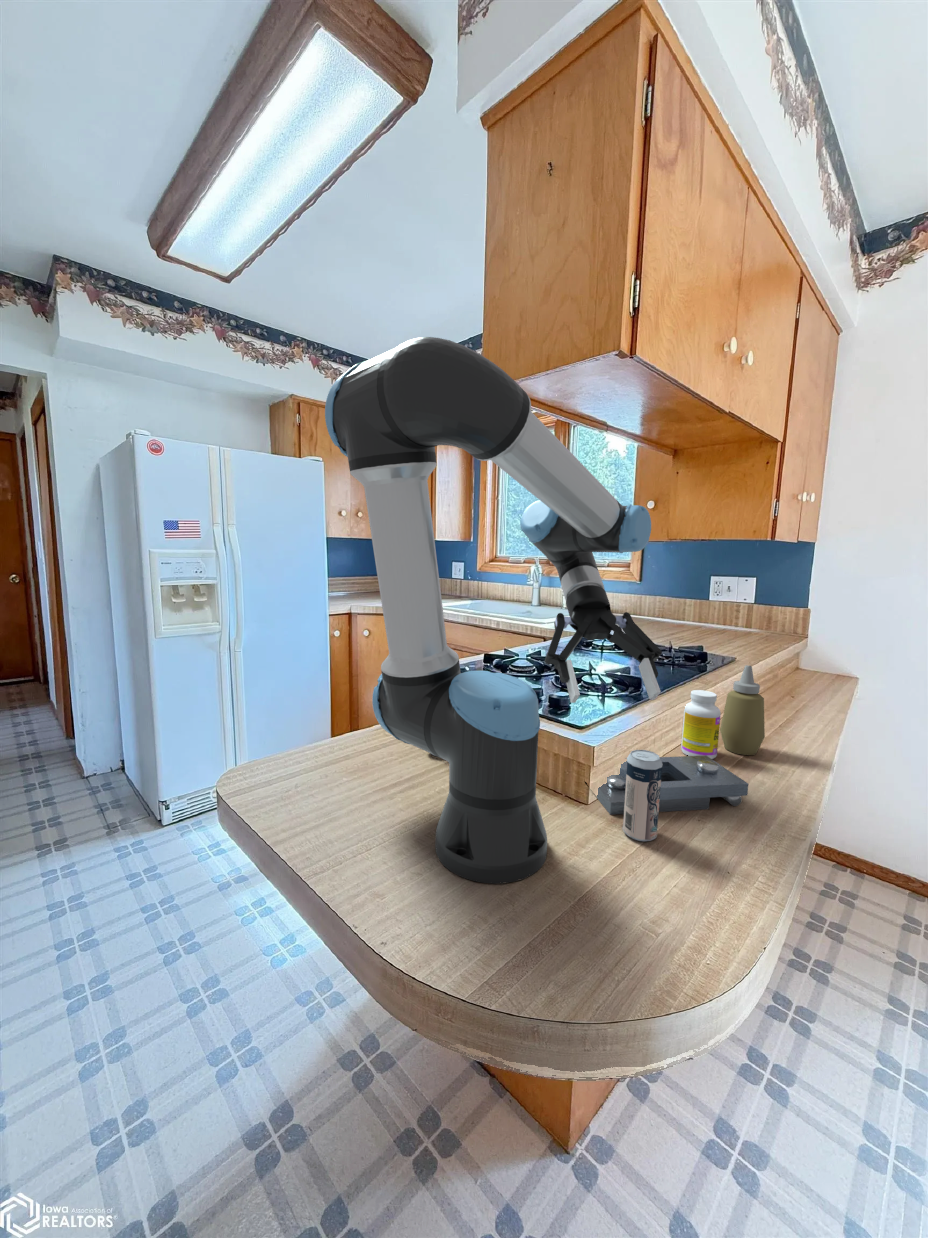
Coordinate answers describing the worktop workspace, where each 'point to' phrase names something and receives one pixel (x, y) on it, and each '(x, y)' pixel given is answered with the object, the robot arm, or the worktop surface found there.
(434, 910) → the worktop surface
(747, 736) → the squeeze bottle
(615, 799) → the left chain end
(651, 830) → the beer can
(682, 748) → the supplement bottle
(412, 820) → the worktop surface
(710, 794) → the right chain end
